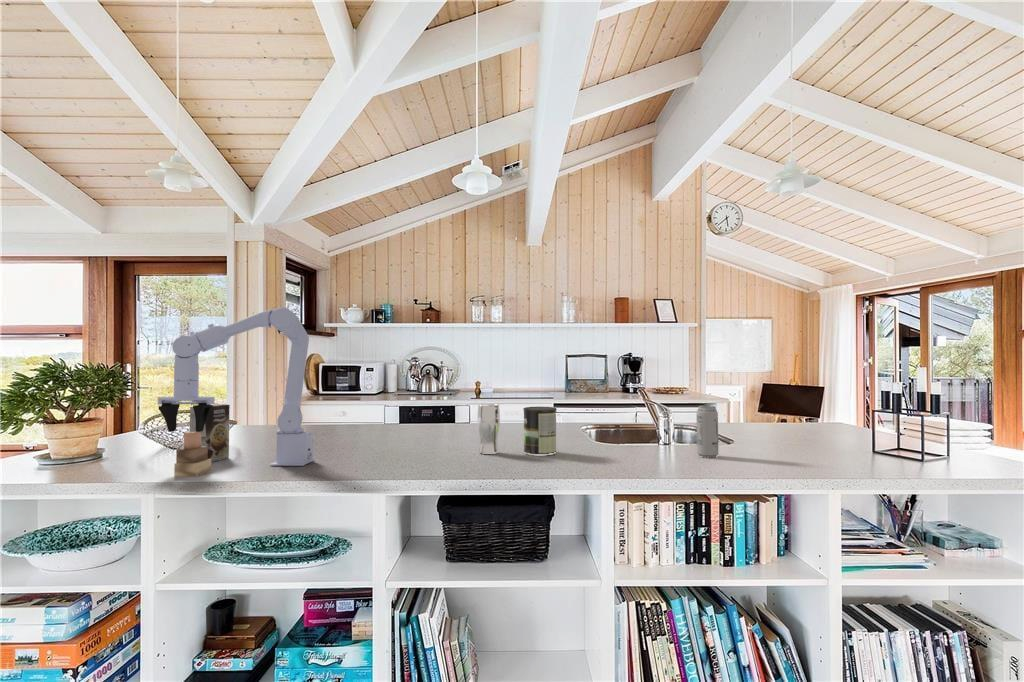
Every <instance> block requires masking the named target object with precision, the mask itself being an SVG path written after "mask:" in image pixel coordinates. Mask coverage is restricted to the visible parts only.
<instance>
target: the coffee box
mask: <svg viewBox="0 0 1024 682" xmlns="http://www.w3.org/2000/svg"><path fill="white" fill-rule="evenodd" d="M212 405H213V408H212V409H211V411H210V413H209V415H208V417H207V419H206V422H205V425H204V429H203V431H201V446H208V459H211V463H214V462H218V461H222V460H226V459H229V457H230V407H231V406H230V404H212ZM189 432H196V419H195V413H194V409H193V406H190V407H189ZM225 458H226V459H225ZM221 459H222V460H221ZM217 460H218V461H217Z"/></svg>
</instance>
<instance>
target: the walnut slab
mask: <svg viewBox="0 0 1024 682" xmlns="http://www.w3.org/2000/svg"><path fill="white" fill-rule="evenodd" d="M175 456H176V457H175V459H176V461H175V463H197V462H201V461H205V460H208V446H201V448H197V449H184V447H181V448H176V455H175Z"/></svg>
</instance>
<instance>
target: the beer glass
mask: <svg viewBox="0 0 1024 682" xmlns="http://www.w3.org/2000/svg"><path fill="white" fill-rule="evenodd" d="M500 423H501V415H500V404H496V403H495V404H493V403H484V404H478V406H477V427H478V432H479V439H480V440H479V441H480V443H479V444H480V445H479V449H478V450H479V451H478V453H479V452H482V453H492V452H497V451H499V446H498V445H499V444H498V438H499V432H500V431H499V430H500Z"/></svg>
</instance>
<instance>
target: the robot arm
mask: <svg viewBox="0 0 1024 682" xmlns="http://www.w3.org/2000/svg"><path fill="white" fill-rule="evenodd" d="M272 327H274V329H277V331H279V332H281V333H283V334H284V335H285V337H286V338H287V339H288V340H289V341H290V342H291V345H290V352H289V353H290V355H289V361H288V369H287V376H286V383H285V392H284V400H283V405H282V411H281V412H280V414H279V415H278V418H277V426H278V428H279V429H278V430H276V439H275V440H276V446H275V447H276V449H275V450H276V451H275V452H276V455H275V457H276V459H275V460H276V461H274V462H272V463H269V466H272V467H275V466H278V467H279V466H280V467H282V466H283V467H284V466H286V467H289V466H290V467H298V466H299V467H301V466H302V467H303V466H306V465H307V464H309V463H311V462H314V461H315V458H314V437H313V434H312V433H311V432H307V431H305V429H304V428H303V427H302V421H303V413H302V410H301V405H302V397H303V396H302V395H303V388H304V379H305V372H306V365H307V358H308V357H307V356H308V348H309V343H310V337H309V334H308V332H307V331H306V329H305V327H304V325H303V324H302V322H301V320H300V319H299V316H297V315H296V314H295V313H294V312H293V311H292V310H291V309H289V308H287V307H285V306H280V307H277V308H274V309H268V310H265V311H261V312H257V313H256V314H254V315H253V314H252V315H250V316H248V317H245V318H243V319H241V320H239V321H236V322H233V323H231V324H230V323H229V324H227V325H222V324H219V323H217V324H214V323H210V324H208V325H207V327H206V328H204V329H200V330H198V331H196V332H195V331H190V332H189V335H186V334H182V335H180V336H179V337H177V338H175V339H174V341H173V342H172V345H171V348H172V352H173V353H174V364H173V365H174V366H173V396H159V397H158V396H157V405H159V406H158V410H159V412H160V413H161V415H162V416H163V419H164V421H165V424H166V427H167V431H168V433H170V432H171V433H172V432H176V431H177V422H178V421H177V420H178V418H177V417H178V412H179V408H180V405H192V407H193V409H194V413H195V419H196V432H201V431H203V429H204V425H205V422H206V419H207V417H208V415H209V413H210V411H211V409H212V408H213V405H215V396H199V394H200V393H199V389H200V387H199V385H200V384H199V383H200V380H199V379H200V377H199V375H200V370H199V369H200V368H199V367H200V363H199V354H200V353H202V352H203V353H205V352H208V351H210V350H214V349H215V348H218V347H221V346H223V345H226V344H228V342H229V340H230V338H231V337H234V336H238V335H239V334H242V333H245V332H249V331H251V330H254V329H257V328H267V329H268V328H269V329H271V328H272Z"/></svg>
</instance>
